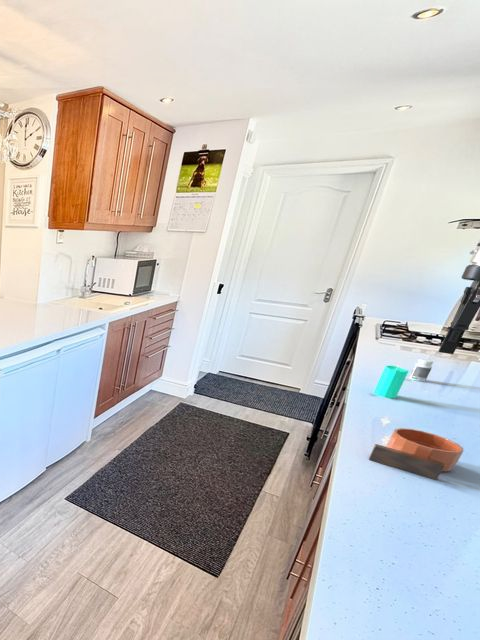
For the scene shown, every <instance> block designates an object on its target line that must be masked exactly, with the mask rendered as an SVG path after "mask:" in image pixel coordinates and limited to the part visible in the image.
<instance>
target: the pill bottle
mask: <svg viewBox="0 0 480 640" xmlns="http://www.w3.org/2000/svg"><path fill="white" fill-rule="evenodd" d="M433 364H434V361H433V360H431V359H425V358H419V359H418V361H417V363H415V364H414V366H413V368H412V370H411V372H410V374H409V376H408V378H409V379H410V380H412V381H416V382H423V383H424V382H426V381H427V378H428V377H429V375H430V372H431V370H432V368H433V366H432V365H433Z"/></svg>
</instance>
